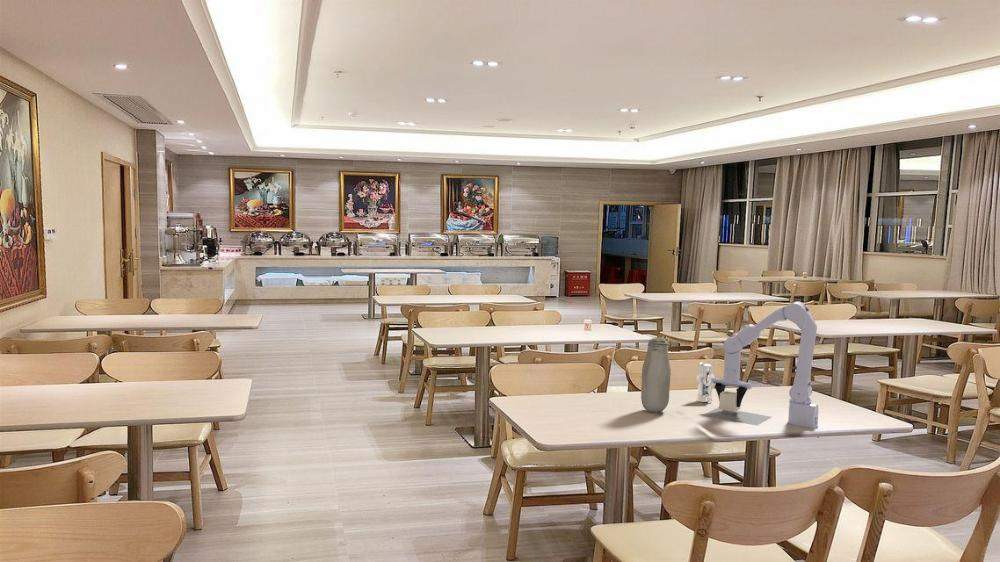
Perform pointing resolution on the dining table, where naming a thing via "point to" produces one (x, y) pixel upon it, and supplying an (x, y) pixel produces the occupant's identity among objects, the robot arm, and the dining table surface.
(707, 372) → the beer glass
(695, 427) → the dining table surface
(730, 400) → the collar
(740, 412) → the duct panel
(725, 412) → the duct stub
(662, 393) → the grey bottle
